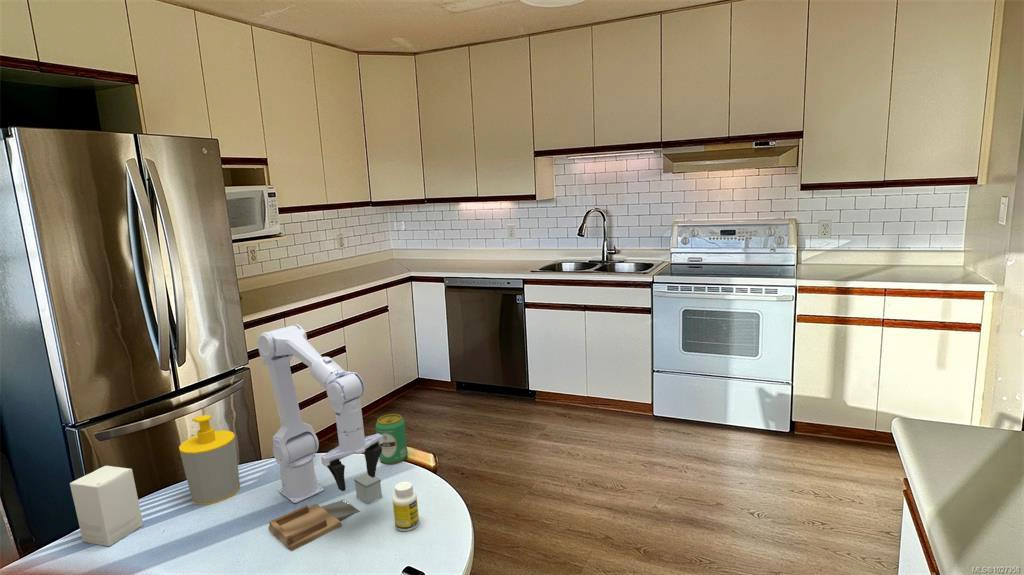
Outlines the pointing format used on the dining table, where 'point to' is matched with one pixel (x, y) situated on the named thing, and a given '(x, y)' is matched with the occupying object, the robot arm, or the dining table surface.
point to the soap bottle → (210, 463)
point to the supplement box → (106, 505)
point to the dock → (309, 523)
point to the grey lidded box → (368, 488)
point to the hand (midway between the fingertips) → (357, 482)
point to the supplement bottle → (405, 507)
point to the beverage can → (392, 438)
